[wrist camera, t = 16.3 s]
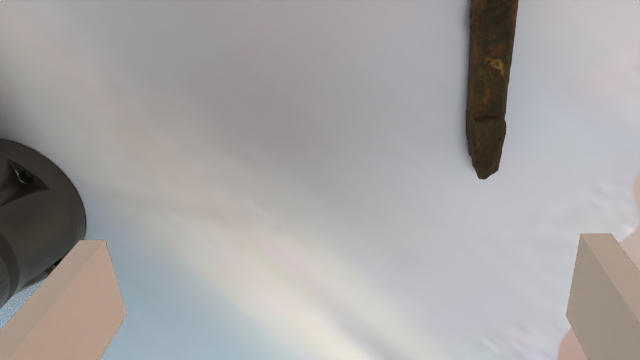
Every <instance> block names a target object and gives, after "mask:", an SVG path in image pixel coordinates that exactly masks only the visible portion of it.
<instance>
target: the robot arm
mask: <svg viewBox="0 0 640 360" xmlns="http://www.w3.org/2000/svg"><path fill="white" fill-rule="evenodd" d="M85 231H86V218H85V212H84V208H83V205H82V202H81V200H80V197H79V195H78V193H77V192H76V190H75V188H74V187H73V185H72V184H71V182H70V181H69V180H68V178H67V177H66V176H65V175H64V174H63V173H62V172H61V171H60V170H59V169H58V168H57V167H56V166H55V165H54V164H53V163H51V162H50V161H49V160H48V159H46V158H45V157H43V156H42V155H40V154H39V153H37V152H35V151H33V150H31V149H29V148H27V147H25V146H22V145H20V144H17V143H14V142H10V141H6V140H1V139H0V309H1V308H2V306H3V305H4V304H5V303H6V302H7V301H8V300H9V299H10V298H11V297H12V296H13V295H14V294H16V293H18V292H20V291H22V290H24V289H26V288H28V287H30V286H32V285H34V284H36V283H38V282H40V281H42V280H44V279H45V280H44V281H43V283H42V284H41V285H40V286H39V287H38V288H37V289H36V291H35V292H34V293H33V294H32V295H31V296H30V297H29V299H28V300H27V301H26V302H25V303H24V304H23V305H22V306H21V308H20V309H19V310H18V311H17V312H16V313H15V314H14V316H13V317H12V318H11V319H10V320H9V321H8V322H7V324H6V325H5V326H4V327H3V328H2V329H1V330H0V360H100V359H101V357H102V355H103V354H104V352H105V350H106V349H107V347H108V345H109V344H110V342H111V340H112V339H113V337H114V335H115V334H116V332H117V330H118V328H119V327H120V325H121V323H122V322H123V320H124V318H125V317H126V315H127V314H126V310H125V307H124V303H123V300H122V296H121V293H120V290H119V286H118V283H117V279H116V276H115V272H114V269H113V266H112V262H111V259H110V255H109V252H108V248H107V245H106V241H105V240H84V236H85ZM566 317H567V319H568V321H569V323H570V325H571V327H572V329H573V331H574V333H575V335H576V337H577V339H578V341H579V343H580V345H581V347H582V349H583V351H584V353H585V355H586V357H587V359H588V360H640V271H639V269H638V268H637V267H636V265H635V264H634V263H633V261H632V260H631V259H630V257H629V256H628V255H627V254H626V252H625V251H624V250H623V248H622V247H621V246H620V244H619V243H618V242H617V240H616V239H615V238H614V236H613V235H612V234H611V233H605V234H581V235H580V240H579V246H578V251H577V257H576V262H575V268H574V274H573V279H572V285H571V290H570V296H569V301H568V307H567V313H566Z"/></svg>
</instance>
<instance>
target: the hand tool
mask: <svg viewBox="0 0 640 360" xmlns="http://www.w3.org/2000/svg"><path fill="white" fill-rule="evenodd" d="M471 2H472V8H471V14H470V17H471V18H472V23H471V25H470V29H471V36H470V40H471V44H470V66H469V82H468V105H467V110H466V134H467V140H468V145H469V147H468V148H469V150H468V151H469V155H470V156H471V158H472V163H473V164H472V165H473V167H474V168H475V171H476V173H477V176H478V178H479V179H486V178H488V177H489V176H490V175H492V174H494V173H495V172H496V171H498V168H499V163H500V158H501V154H502V146H503V143H504V139H505V135H506V122H505V120H504V119H505V113H506V102H507V88H508V83H509V75H510V67H511V62H512V52H513V43H514V35H515V26H516V16H517V9H518V0H471Z"/></svg>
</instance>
